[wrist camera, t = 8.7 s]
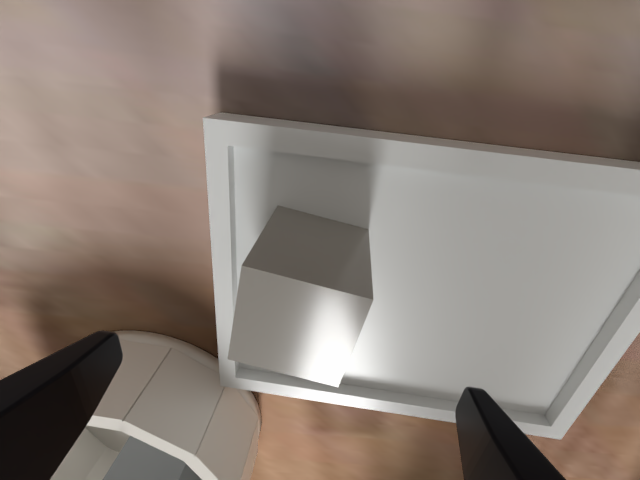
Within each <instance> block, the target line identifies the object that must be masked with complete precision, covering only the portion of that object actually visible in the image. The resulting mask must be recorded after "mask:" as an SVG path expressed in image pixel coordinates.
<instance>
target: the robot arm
mask: <svg viewBox="0 0 640 480" xmlns="http://www.w3.org/2000/svg"><path fill="white" fill-rule="evenodd" d="M122 359H123V352H122V348H121V344H120V340H119V336H118V335H117V333H115V332H110V331H98V332H95V333H93V334H91V335H89V336H87V337H85V338H83V339H81V340H79V341H77V342H75V343H73V344H71V345H69V346H67V347H65V348H63V349H61V350H59V351H57V352H55V353H53V354H51V355H49V356H47V357H45V358H43V359H41V360H39V361H37V362H35V363H33V364H31V365H29V366H27V367H25V368H23V369H21V370H19V371H17V372H16V373H14V374H12V375H10V376H8V377H6V378H4V379H2V380H0V480H50V479H51V477H52V476H53V474H54V473H55V472H56V470H57V469H58V467H59V466H60V464H61V463H62V461H63V460H64V458H65V457H66V455H67V454H68V452H69V451H70V449H71V448H72V446H73V445H74V443H75V442H76V440H77V439H78V437H79V436H80V434H81V433H82V432H83V430H84V428H85V427H86V425H87V424H88V422H89V421H90V419H91V417H92V416H93V414H94V412H95V410H96V409H97V407H98V405H99V403H100V401H101V399H102V398H103V396H104V394H105V392H106V390H107V389H108V387H109V385H110V383H111V381H112V379H113V378H114V376H115V374H116V372H117V370H118V369H119V367H120V365H121V363H122ZM455 418H456V425H457V432H458V440H459V447H460V454H461V461H462V469H463V476H464V480H566V479H565V478H564V477H563V476H562V475H561V474H560V473H559V471H558V470H557V469H556V468H555V467H554V466H553V465H552V464H551V463H550V462H549V460H548V459H547V458H546V457H545V456H544V455H543V454H542V453H541V452H540V450H539V449H538V448H537V447H536V446H535V445H534V444H533V443H532V442H531V441H530V439H529V438H528V437H527V436H526V435H525V434H524V433H523V432H522V431H521V429H520V428H519V427H518V426H517V425H516V424H515V423H514V422H513V421H512V420H511V418H510V417H509V416H508V415H507V414H506V413H505V412H504V411H503V410H502V408H501V407H500V406H499V405H498V404H497V403H496V402H495V401H494V400H493V398H492V397H491V396H490V395H489V394H488V393H487V392H486V391H485V390H483V389H481V388H475V387H466V388H465V389H464V390H463V393H462V395H461V397H460V399H459V402H458V404H457V406H456V410H455Z"/></svg>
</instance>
